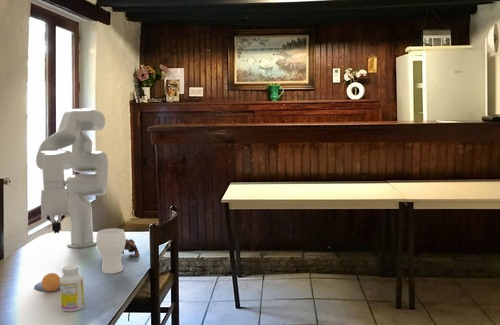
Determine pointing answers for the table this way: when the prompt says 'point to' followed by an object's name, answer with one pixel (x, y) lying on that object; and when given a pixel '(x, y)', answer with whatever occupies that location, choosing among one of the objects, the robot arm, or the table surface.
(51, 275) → the ball
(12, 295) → the table surface
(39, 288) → the disc
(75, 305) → the supplement bottle
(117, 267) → the cup
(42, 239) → the table surface
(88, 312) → the table surface
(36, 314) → the table surface
